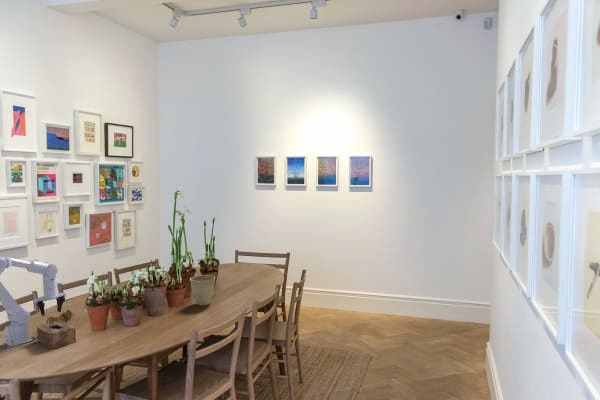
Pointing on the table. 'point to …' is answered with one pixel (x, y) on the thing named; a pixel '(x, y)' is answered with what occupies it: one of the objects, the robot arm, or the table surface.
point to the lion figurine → (62, 317)
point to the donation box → (56, 334)
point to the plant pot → (202, 288)
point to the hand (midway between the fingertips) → (51, 313)
